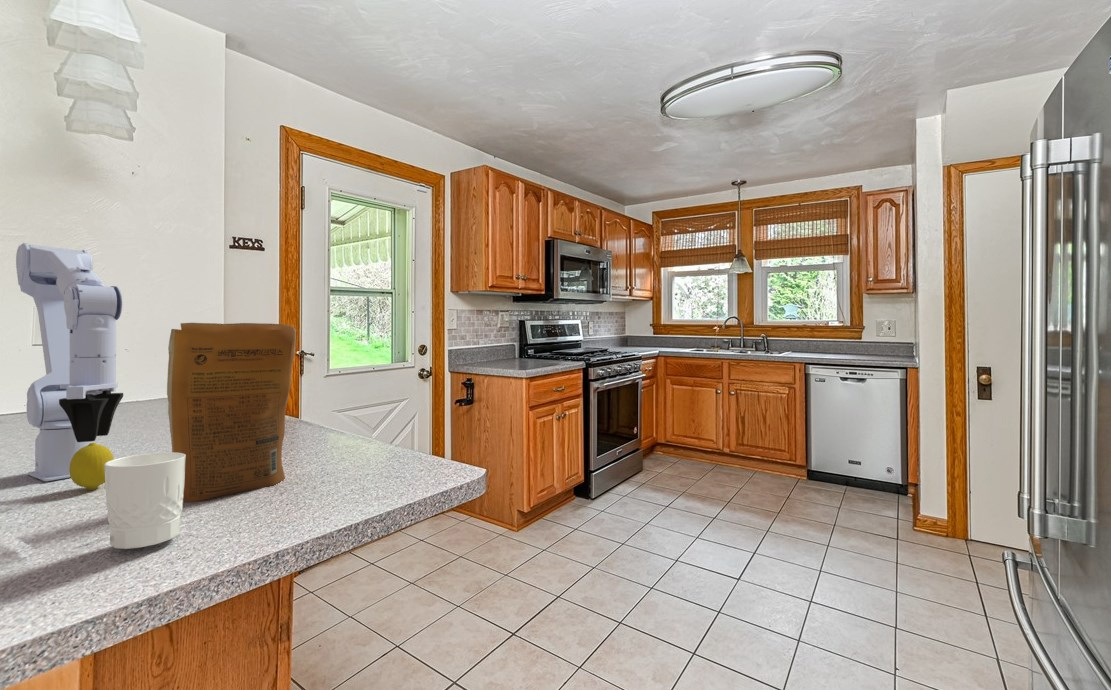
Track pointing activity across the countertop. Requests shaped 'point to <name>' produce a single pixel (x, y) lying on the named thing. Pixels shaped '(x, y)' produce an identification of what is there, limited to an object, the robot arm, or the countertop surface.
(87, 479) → the lemon
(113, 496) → the white cup
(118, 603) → the countertop surface
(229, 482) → the pancake mix bag
